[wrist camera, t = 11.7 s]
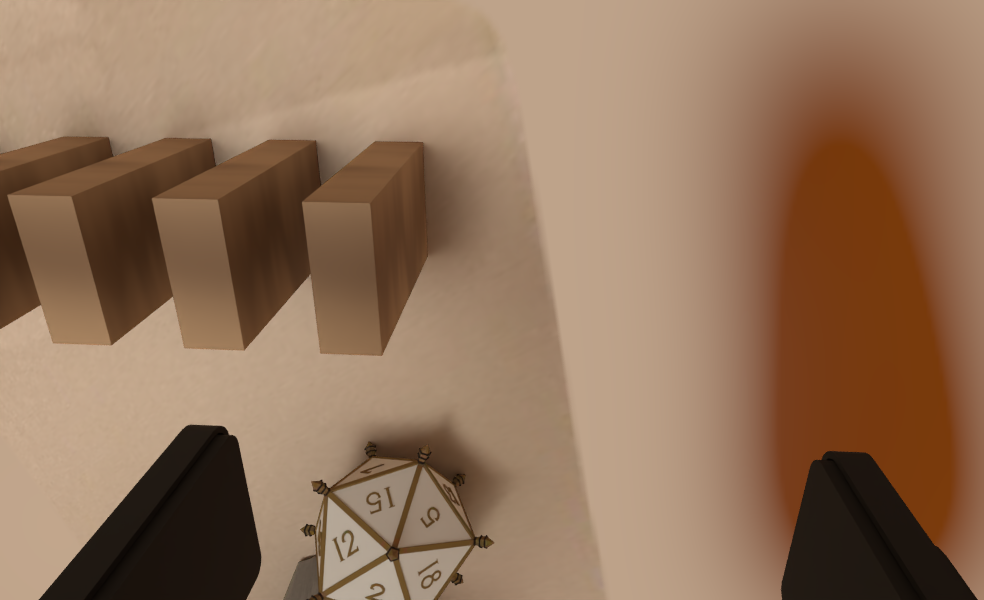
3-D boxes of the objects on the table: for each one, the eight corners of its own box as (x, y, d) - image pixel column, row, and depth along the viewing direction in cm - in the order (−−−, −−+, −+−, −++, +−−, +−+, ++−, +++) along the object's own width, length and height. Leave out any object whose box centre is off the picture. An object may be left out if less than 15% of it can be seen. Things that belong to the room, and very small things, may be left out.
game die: (452, 450, 38) (512, 631, 32) (304, 498, 36) (341, 698, 31) (443, 373, 31) (519, 589, 25) (259, 428, 29) (296, 672, 24)
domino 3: (327, 253, 29) (244, 350, 21) (284, 252, 30) (184, 348, 21) (315, 140, 27) (217, 199, 19) (268, 139, 27) (151, 198, 19)
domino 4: (427, 256, 29) (382, 355, 21) (383, 255, 29) (320, 353, 21) (422, 142, 27) (370, 203, 19) (374, 141, 27) (302, 202, 19)
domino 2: (230, 250, 30) (111, 345, 22) (187, 249, 30) (53, 343, 22) (211, 139, 28) (71, 196, 19) (165, 138, 28) (7, 194, 20)
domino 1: (134, 248, 30) (-19, 340, 22) (92, 247, 30) (-76, 338, 22) (108, 137, 28) (-72, 193, 20) (63, 136, 28) (-135, 192, 20)
